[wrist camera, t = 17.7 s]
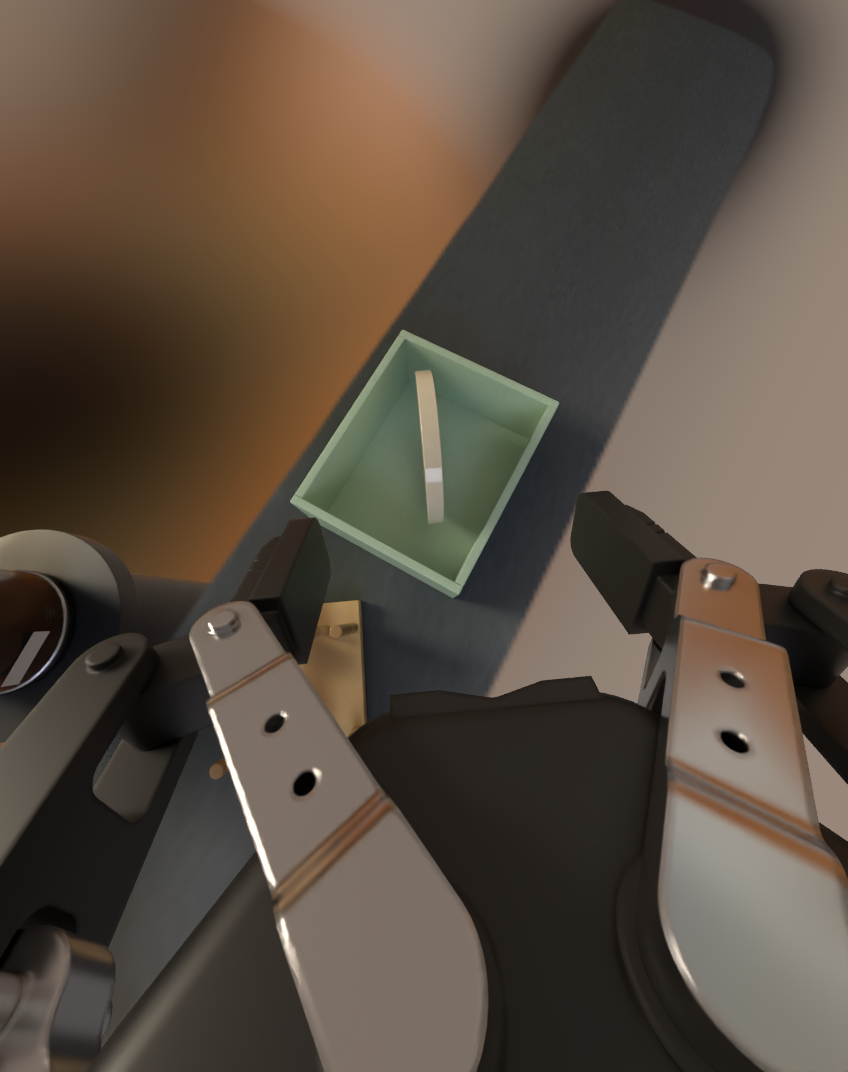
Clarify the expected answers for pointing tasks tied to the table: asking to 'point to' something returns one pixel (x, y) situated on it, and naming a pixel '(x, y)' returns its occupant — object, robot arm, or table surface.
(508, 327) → the table surface
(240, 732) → the robot arm
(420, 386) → the plate
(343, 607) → the dish rack
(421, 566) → the light green open box
